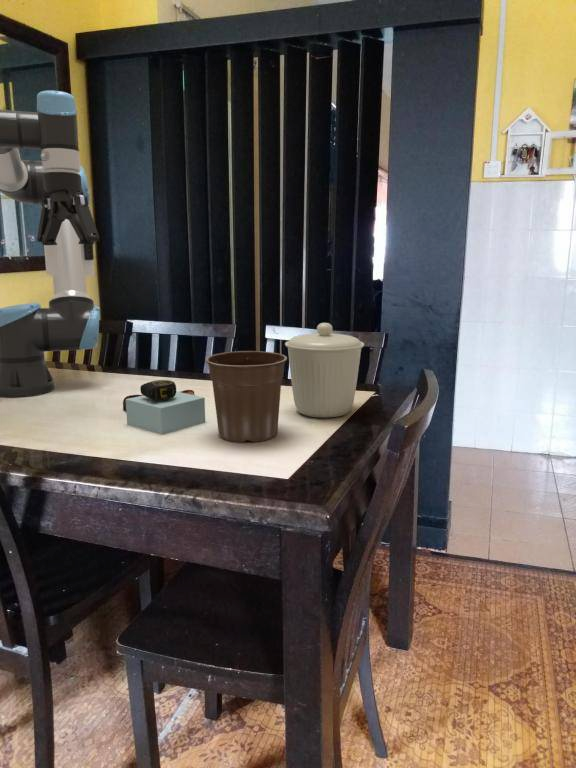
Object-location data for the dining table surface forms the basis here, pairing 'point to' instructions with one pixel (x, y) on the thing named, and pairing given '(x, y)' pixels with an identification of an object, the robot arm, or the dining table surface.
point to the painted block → (165, 412)
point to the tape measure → (159, 389)
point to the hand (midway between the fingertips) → (69, 275)
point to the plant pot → (247, 393)
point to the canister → (324, 372)
